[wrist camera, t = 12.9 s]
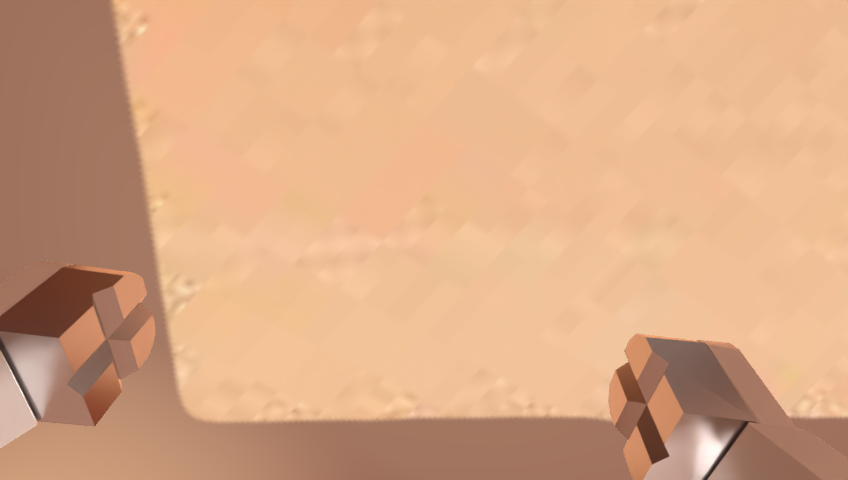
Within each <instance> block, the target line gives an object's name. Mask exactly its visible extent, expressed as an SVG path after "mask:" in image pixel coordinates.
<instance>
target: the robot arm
mask: <svg viewBox="0 0 848 480" xmlns="http://www.w3.org/2000/svg"><path fill="white" fill-rule="evenodd" d="M146 294H147V291H146V288H145V285H144V282H143V279H142V277H141V276H138V275H137V274H135V273H132V272H125V271H118V270H111V269H104V268H97V267H90V266H83V265H77V264H74V265H71V264H66V263H59V262H52V261H45V260H44V261H39V262H33V263H31V264H29V265H27V266H26V267H25V268H23V269H22V270H20V271H19V272H18V273H16V274H15V275H13V276H12V277H11V278H9V279H8V280H6V281H5V282H4V283H2V284H1V285H0V448H1V447H3V446H5V445H6V444H8V443H9V442H11V441H12V440H14V439H16V438H17V437H19V436H20V435H22V434H23V433H25V432H26V431H28V430H30V429H31V428H33V427H34V426H36V425H37V424H38V423H37V421H41V422H52V423H64V424H74V425H85V426H86V425H87V426H96V424H97V423H98V422H99V420H100V419H101V418H102V417H103V415H104V414H105V413H106V411H107V410H108V409H109V407H110V406H111V405H112V403H113V402H114V401H115V400H116V398H117V397H118V396H119V395H120V393H121V392H122V386H121V379H122V378H124V377H126V376H128V375H130V374H131V373H133V372H135V371H137V370H139V368H140V367H141V366H142V364H143V363H144V362H145V360H146V359H147V357H148V356H149V354H150V351H151V348H152V345H153V343H154V340H155V322H154V318H153V314H152V313H151V312H150V311H149V310H148V309H146V307H145V306H144V305H142V304H141V302H142V300H143V299H144V297H145V296H146ZM625 354H626V356H627V359H628V361H629V362H628V363H626V364H625V365H623V366H621V367H620V368H618V369H617V370H616V371H615V373H614V375H613V378H612V380H611V383H610V389H609V408H610V414H611V417H612V420H613V423H614V426H615V427H616V428H617V429H618V430H619V431H620V432H621V433H622V434H623V435H624V436H625V437H626V438H627V439H628V441H627V443H626V446H625V448H624V450H623V453H624V456H625V459H626V461H627V465H628V467H629V470H630V473H631V476H632V479H633V480H848V458H847V457H846V456H844V455H843V454H841V453H840V452H838V451H837V450H835V449H834V448H833V447H831V446H830V445H828V444H827V443H825V442H824V441H823V440H821V439H820V438H818V437H817V436H815V435H814V434H813V433H811V432H810V431H808V430H806V429H798V428H796V427H795V426H794V425H793V423H792V422H791V420H790V419H789V417H788V416H787V415H786V413H785V412H784V411H783V409H782V408H781V406H780V405H779V404H778V402H777V401H776V400H775V398H774V397H773V395H772V394H771V393H770V391H769V390H768V389H767V387H766V386H765V385H764V383H763V382H762V380H761V379H760V378H759V376H758V375H757V374H756V372H755V371H754V369H753V368H752V367H751V365H750V364H749V363H748V361H747V360H746V358H745V357H744V356H743V354H742V353H741V352H740V350H739V349H738V348H736V347H735V346H733V345H732V344H730V343H722V342H712V341H702V340H698V341H694V340H686V339H677V338H669V337H660V336H651V335H643V334H635V335H634V336H633V337H632V338H631V339H630V340H629V342H628V344H627V347H626V349H625Z"/></svg>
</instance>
